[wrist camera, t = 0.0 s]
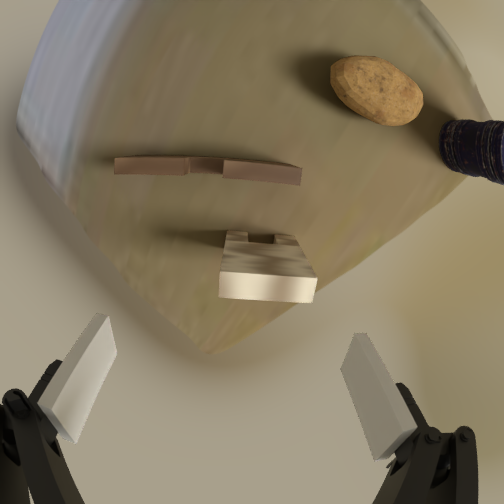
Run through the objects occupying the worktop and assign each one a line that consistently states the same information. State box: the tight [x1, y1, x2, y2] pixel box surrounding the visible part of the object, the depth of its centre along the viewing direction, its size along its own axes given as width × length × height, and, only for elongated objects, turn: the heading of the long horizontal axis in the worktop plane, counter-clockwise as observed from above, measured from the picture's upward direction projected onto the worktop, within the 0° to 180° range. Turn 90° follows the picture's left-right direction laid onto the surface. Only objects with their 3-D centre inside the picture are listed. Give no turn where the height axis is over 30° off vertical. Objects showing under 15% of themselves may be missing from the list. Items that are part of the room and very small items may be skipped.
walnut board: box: [114, 155, 302, 186], centre depth 33 cm, size 2×22×8 cm, turn 84°
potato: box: [330, 56, 423, 126], centre depth 29 cm, size 10×14×8 cm
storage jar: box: [439, 120, 504, 185], centre depth 28 cm, size 10×10×15 cm
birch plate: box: [219, 230, 318, 303], centre depth 34 cm, size 10×3×14 cm, turn 84°
